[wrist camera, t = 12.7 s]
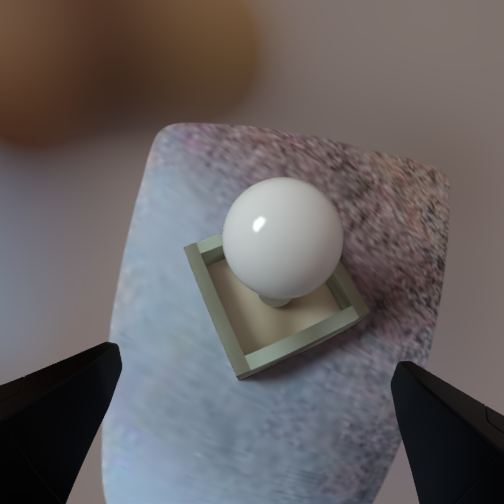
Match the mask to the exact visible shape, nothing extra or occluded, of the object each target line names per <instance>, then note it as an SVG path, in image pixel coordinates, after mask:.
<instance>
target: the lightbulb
mask: <svg viewBox="0 0 504 504" xmlns="http://www.w3.org/2000/svg"><path fill="white" fill-rule="evenodd" d="M343 243H344V233H343V226H342V222H341V219H340V216H339V213H338V211H337V209H336V207H335V206H334V204H333V203H332V201H331V200H330V199H329V198H328V197H327V196H326V195H325V194H324V193H323V192H322V191H321V190H320V189H318V188H317V187H315V186H314V185H312V184H310V183H308V182H306V181H303V180H300V179H296V178H291V177H275V178H269V179H265V180H262V181H260V182H257V183H255V184H253V185H252V186H250V187H249V188H247V189H246V190H245V191H243V192H242V193H241V194H240V195H239V196H238V197H237V198H236V200H235V201H234V202H233V204H232V205H231V207H230V209H229V211H228V213H227V215H226V218H225V221H224V225H223V231H222V245H223V251H224V255H225V258H226V261H227V263H228V265H229V267H230V269H231V271H232V272H233V274H234V275H235V276H236V277H237V279H238V280H239V281H240V282H241V283H242V284H244V285H245V286H246V287H247V288H249V289H250V290H252V291H254V292H256V293H258V296H259V298H260V299H261V301H262V302H263V303H265V304H266V305H268V306H271V307H281V306H283V305H285V304H287V303H288V302H289V301H290V300H291V299H292V298H297V297H300V296H303V295H306V294H308V293H310V292H312V291H314V290H316V289H317V288H319V287H320V286H321V285H322V284H323V283H325V282H326V281H327V280H328V278H329V277H330V276H331V275H332V273H333V272H334V270H335V269H336V267H337V265H338V263H339V260H340V258H341V254H342V250H343Z"/></svg>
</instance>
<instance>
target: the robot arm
mask: <svg viewBox="0 0 504 504" xmlns="http://www.w3.org/2000/svg"><path fill="white" fill-rule="evenodd" d="M121 371H122V361H121V356H120V351H119V347H118V345H117V344H116V343H111V342H104V343H102V344H99V345H97V346H95V347H93V348H90V349H88V350H86V351H83V352H81V353H79V354H76V355H74V356H71V357H69V358H67V359H65V360H62V361H60V362H57V363H55V364H52V365H50V366H48V367H45V368H43V369H40V370H38V371H36V372H33V373H31V374H28V375H26V376H25V377H21V378H19V379H16V380H14V381H11V382H8V383H6V384H3V385H0V504H66V502H67V499H68V496H69V494H70V492H71V490H72V487H73V484H74V482H75V480H76V478H77V475H78V473H79V471H80V468H81V466H82V464H83V462H84V459H85V457H86V455H87V453H88V450H89V448H90V446H91V444H92V442H93V439H94V437H95V435H96V433H97V430H98V429H99V427H100V424H101V422H102V420H103V418H104V416H105V414H106V412H107V410H108V407H109V405H110V402H111V400H112V397H113V394H114V391H115V388H116V385H117V382H118V379H119V377H120V374H121ZM391 391H392V396H393V401H394V406H395V411H396V417H397V422H398V426H399V430H400V433H401V436H402V440H403V443H404V446H405V450H406V453H407V457H408V460H409V464H410V468H411V471H412V475H413V479H414V483H415V486H416V491H417V495H418V499H419V503H420V504H504V416H503V415H501V414H500V413H498V412H496V411H494V410H493V409H491V408H489V407H487V406H485V405H484V404H482V403H480V402H479V401H477V400H475V399H474V398H472V397H470V396H469V395H467V394H465V393H464V392H462V391H460V390H458V389H457V388H455V387H453V386H452V385H450V384H448V383H447V382H445V381H443V380H441V379H440V378H438V377H437V376H435V375H433V374H431V373H430V372H428V371H426V370H425V369H423V368H421V367H420V366H418V365H416V364H415V363H413V362H411V361H401V362H399V363H398V364H397V366H396V369H395V372H394V375H393V378H392V381H391Z"/></svg>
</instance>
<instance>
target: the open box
mask: <svg viewBox="0 0 504 504" xmlns="http://www.w3.org/2000/svg"><path fill="white" fill-rule="evenodd" d="M184 250H185V253H186V255H187V258H188V261H189V263H190V266H191V269H192V271H193V274H194V276H195V279H196V282H197V284H198V287H199V289H200V292H201V294H202V297H203V299H204V302H205V304H206V307H207V309H208V312H209V314H210V316H211V319H212V321H213V324H214V326H215V328H216V331H217V333H218V336H219V338H220V340H221V343H222V345H223V347H224V350H225V352H226V354H227V356H228V359H229V361H230V363H231V366H232V368H233V370H234V372H235V374H236V377H237V379H238V380H241V379H243V378H245V377H248V376H250V375H253V374H255V373H257V372H260V371H262V370H264V369H266V368H269V367H271V366H273V365H275V364H278V363H280V362H282V361H284V360H286V359H288V358H291V357H293V356H295V355H297V354H299V353H301V352H303V351H305V350H307V349H309V348H311V347H314V346H316V345H318V344H320V343H322V342H324V341H325V340H327V339H329V338H331V337H333V336H335V335H337V334H339V333H341V332H343V331H345V330H347V329H348V328H350V327H352V326H354V325H356V324H358V323H359V322H360V321H361V320H362V319H363V318H364V317H365V316H366V315H367V314H369V313H370V312H371V311H370V310H369V308H368V306H367V304H366V303H365V301H364V299H363V298H362V296H361V294H360V292H359V291H358V289H357V287H356V286H355V284H354V282H353V281H352V279H351V277H350V276H349V274H348V272H347V271H346V269H345V267H344V266H343V264H342V262H341V261H340V260H339V263H338V265H337V267H336V269H335V270H334V272H333V273H332V275H331V276H330V277H329V278H328V280H327V281H326V282H325V283H323V284H322V285H321V286H320V287H319V288H317V289H316V290H314V291H312V292H310V293H308V294H306V295H303V296H300V297H297V298H292V299H291V300H290V301H289V302H288V303H287V304H285V305H283V306H281V307H271V306H268V305H266V304H265V303H263V302H262V301H261V299H260V298H259V296H258V293H256V292H254V291H252V290H250V289H249V288H247V287H246V286H245V285H244V284H242V283H241V282H240V281H239V280H238V279H237V277H236V276H235V275H234V274H233V272H232V271H231V269H230V267H229V265H228V263H227V261H226V258H225V255H224V251H223V245H222V233H220V234H217V235H215V236H212V237H210V238H207V239H204V240H202V241H199V242H196V243H194V244H191V245H189V246H186V247H184Z"/></svg>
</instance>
